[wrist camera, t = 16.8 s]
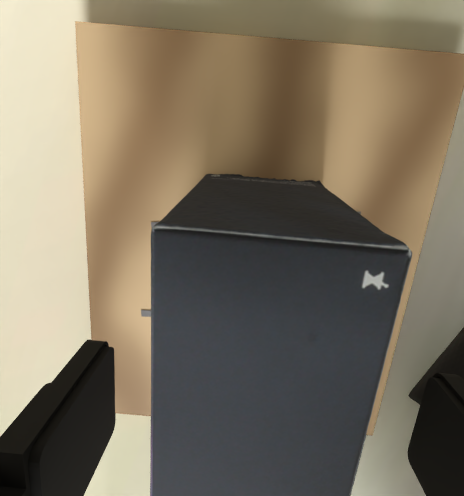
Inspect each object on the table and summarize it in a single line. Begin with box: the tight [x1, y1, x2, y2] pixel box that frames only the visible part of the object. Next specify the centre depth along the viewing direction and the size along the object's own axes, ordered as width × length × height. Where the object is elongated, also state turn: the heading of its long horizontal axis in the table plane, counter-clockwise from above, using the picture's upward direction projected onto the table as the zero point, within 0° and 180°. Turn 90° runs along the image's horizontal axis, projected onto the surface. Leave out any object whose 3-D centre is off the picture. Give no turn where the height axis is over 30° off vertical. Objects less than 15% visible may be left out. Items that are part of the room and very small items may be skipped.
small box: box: [150, 174, 412, 496], centre depth 14 cm, size 11×6×10 cm, turn 176°
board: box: [75, 21, 464, 435], centre depth 20 cm, size 18×22×2 cm
